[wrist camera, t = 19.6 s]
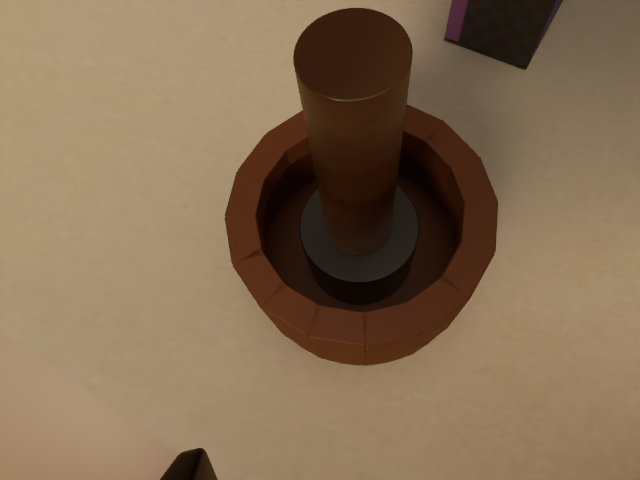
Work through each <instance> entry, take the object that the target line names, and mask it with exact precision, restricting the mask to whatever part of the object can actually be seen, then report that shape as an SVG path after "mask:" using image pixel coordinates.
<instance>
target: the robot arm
mask: <svg viewBox="0 0 640 480" xmlns="http://www.w3.org/2000/svg"><path fill="white" fill-rule="evenodd" d="M160 480H217V477H216V475H215V472H214V470H213V467H212V465H211V463H210V460H209V458H208V455H207V453H206V451H205V450H204V449H202V448H197V449H193V450H189V451H184V452H182V453H180V454H179V455H178V456H177V457H176V459H175V460H174V461H173V463H172V464H171V465H170V467H169V468H168V469H167V471H166V472H165V473H164V475H163V476H162V478H161V479H160Z"/></svg>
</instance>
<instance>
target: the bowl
mask: <svg viewBox="0 0 640 480" xmlns="http://www.w3.org/2000/svg"><path fill="white" fill-rule="evenodd" d="M397 185H398V186H399V187H400V188H401V189H403V190H404V191H405V192H406V194H407V195H408V196H409V197H410V199H411V200H412V202H413V204H414V206H415V208H416V210H417V214H418V218H419V238H418V242H417V246H416V249H415V253H414V257H413V260H412V264H411V268H410V271H409V274H408V276H407V278H406V280H405V281H404V283H403V284H402V285H401V287H400V288H399V289H398V290H397V291H396V292H395V293H393V294H392V295H390V296H389V297H388V298H386V299H384V300H382V301H379V302H376V303H372V304H365V305H354V304H348V303H345V302H341V301H339V300H337V299H335V298H333V297H331V296H330V295H328V294H327V293H326V292H325V291H323V290H322V289H321V287H320V286H319V285H318V284H317V282H316V281H315V279H314V277H313V275H312V273H311V270H310V267H309V264H308V261H307V258H306V255H305V253H304V250H303V247H302V244H301V240H300V235H299V223H300V217H301V213H302V211H303V208H304V206H305V204H306V202H307V200H308V199H309V198H310V196H311V195H312V194H313V193H314V192H315V191H316V190H317V189H318V185H317V179H316V174H315V169H314V164H313V159H312V154H311V149H310V144H309V139H308V134H307V129H306V123H305V118H304V113H303V110H302V111H301V112H299V113H298V114H296V115H295V116H293V117H291V118H290V119H288V120H287V121H285V122H283V123H282V124H280V125H279V126H277V127H276V128H274V129H272V130H271V131H269V132H268V133H266V135H264V137H263V138H262V139H261V141H260V142H259V143H258V144H257V146H256V147H255V148H254V150H253V151H252V152H251V154H250V155H249V156H248V158H247V159H246V160H245V161H244V163H243V164H242V165H241V167H240V168H239V169H238V172H237V173H236V176H235V180H234V184H233V188H232V191H231V195H230V199H229V202H228V206H227V210H226V213H225V222H226V229H227V235H228V242H229V248H230V254H231V261H232V264H233V267H234V268H235V270H236V271H237V273H238V274H239V276H240V277H241V279H242V281H243V282H244V284H245V285H246V287H247V288H248V290H249V291H250V293H251V294H252V296H253V297H254V299H255V300H256V302H257V303H258V305H259V306H260V307H261V309H262V310H263V311H264V312H265V313H266V315H267V316H268V317H269V318H270V319H271V321H272V322H273V323H274V324H275V325H276V326H277V328H278V329H279V330H280V331H281V332H282V333H283V334H284V335H285V336H287V337H288V338H290V339H291V340H293V341H294V342H296V343H297V344H298V345H300V346H301V347H302V348H304V349H306V350H308V351H309V352H311V353H313V354H315V355H316V356H318V357H320V358H324V359H327V360H331V361H335V362H339V363H343V364H353V365H374V364H380V363H386V362H390V361H393V360H397V359H400V358H403V357H405V356H409V355H411V354H413V353H415V352H416V351H417V350H419V349H420V348H422V347H423V346H425V345H427V344H428V343H429V342H430V341H432V340H433V339H434V338H435V337H436V336H437V335H439V334H440V333H441V332H443V331H444V330H445V329H447V327H448V326H449V325H450V324H451V322H452V321H453V320H454V319H455V317H456V316H457V315H458V313H459V312H460V311H461V310H462V308H463V307H464V306H465V304H466V303H467V302H468V300H469V299H470V298H471V296H472V294H473V292H474V291H475V289H476V287H477V285H478V283H479V281H480V280H481V278H482V276H483V274H484V272H485V270H486V269H487V267H488V265H489V263H490V261H491V259H492V258H493V256H494V252H495V249H496V231H497V212H498V202H497V198H496V196H495V193H494V191H493V188H492V186H491V183H490V181H489V178H488V176H487V173H486V171H485V168H484V166H483V163H482V161H481V158H480V157H478V155H477V154H476V153H475V152H474V151H473V150H472V149H471V148H470V147H469V146H468V145H467V144H466V143H465V142H464V141H463V140H462V139H461V138H460V137H459V136H458V135H457V134H456V133H455V131H454V130H453V129H452V128H451V127H450V126H449V125H448V124H446V123H445V122H444V121H443V120H440V119H438V118H436V117H434V116H432V115H429V114H427V113H425V112H423V111H420V110H418V109H416V108H414V107H412V106H409V105H406V113H405V121H404V130H403V138H402V146H401V154H400V162H399V170H398V178H397Z"/></svg>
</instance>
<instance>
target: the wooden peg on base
mask: <svg viewBox="0 0 640 480" xmlns="http://www.w3.org/2000/svg"><path fill="white" fill-rule="evenodd" d="M412 54H413V50H412V44H411V41H410V38H409V36H408V34H407V33H406V31H405V30H404V28H403V27H402V26H401V25H400V24H399V23H398V22H397V21H396V20H394V19H393V18H391V17H390V16H388V15H386V14H384V13H381V12H378V11H375V10H371V9H365V8H348V9H341V10H337V11H334V12H331V13H328V14H326V15H323V16H322V17H320V18H318V19H317V20H315V21H314V22H312V23H311V24H310V25H309V26H308V27H307V28H306V29H305V30H304V31H303V33H302V34H301V36H300V37H299V39H298V41H297V43H296V46H295V50H294V56H293V59H294V67H295V72H296V78H297V83H298V88H299V93H300V98H301V103H302V108H303V113H304V118H305V123H306V129H307V134H308V139H309V144H310V149H311V154H312V159H313V164H314V169H315V174H316V179H317V185H318V189H317V190H316V191H315V192H314V193H313V194H312V195H311V196H310V198H309V199H308V200H307V202H306V204H305V206H304V208H303V211H302V213H301V217H300V223H299V235H300V240H301V244H302V247H303V250H304V253H305V255H306V258H307V261H308V264H309V267H310V270H311V273H312V275H313V277H314V279H315V281H316V282H317V284H318V285H319V286H320V287H321V289H322V290H323V291H325V292H326V293H327V294H328V295H330V296H331V297H333V298H335V299H337V300H339V301H341V302H345V303H348V304H354V305H365V304H372V303H376V302H379V301H382V300H384V299H386V298H388V297H389V296H390V295H392V294H393V293H395V292H396V291H397V290H398V289H399V288H400V287H401V285H402V284H403V283H404V281H405V280H406V278H407V276H408V274H409V271H410V268H411V264H412V260H413V257H414V253H415V249H416V246H417V242H418V238H419V218H418V214H417V210H416V208H415V206H414V204H413V202H412V200H411V199H410V197H409V196H408V195H407V194H406V192H405V191H404V190H403V189H401V188H400V187H399V186H398V185H397V178H398V170H399V162H400V154H401V146H402V138H403V130H404V121H405V113H406V105H407V97H408V89H409V81H410V73H411V65H412Z"/></svg>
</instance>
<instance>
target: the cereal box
mask: <svg viewBox="0 0 640 480" xmlns="http://www.w3.org/2000/svg"><path fill="white" fill-rule="evenodd" d="M562 1H563V0H452V3H451V8H450V13H449V18H448V23H447V28H446V33H445V38H444V40H445V41H448V42H451V43H454V44H456V45H459V46H462V47H465V48H467V49H470V50H473V51H476V52H479V53H481V54H484V55H487V56H490V57H492V58H495V59H498V60H501V61H503V62H506V63H509V64H512V65H514V66H517V67H520V68H523V69H525V70H526V68H527V66H528V64H529V63H530V61H531V59H532V57H533V55H534V53H535V51H536V49H537V48H538V46H539V44H540V42H541V40H542V38H543V36H544V34H545V33H546V31H547V29H548V27H549V25H550V23H551V21H552V19H553V18H554V16H555V14H556V12H557V10H558V8H559V6H560V4H561V2H562Z"/></svg>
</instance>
